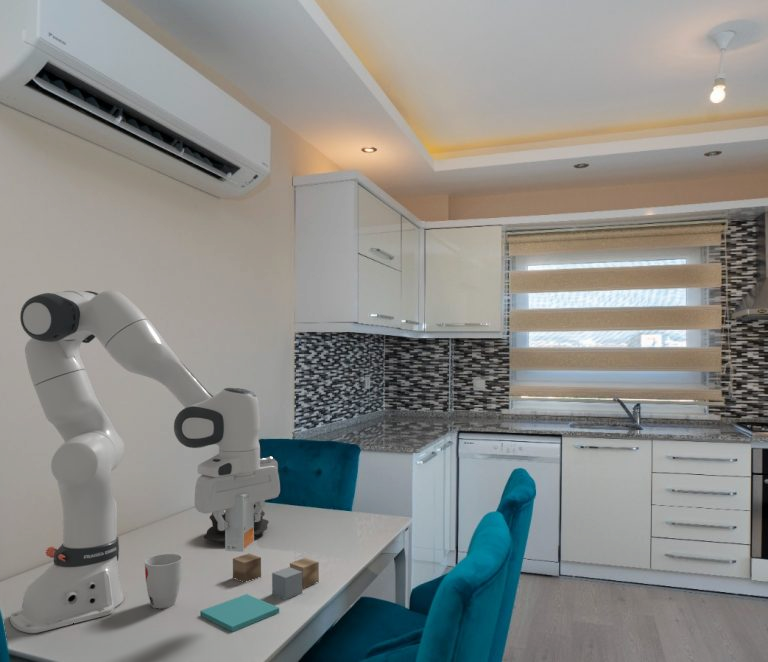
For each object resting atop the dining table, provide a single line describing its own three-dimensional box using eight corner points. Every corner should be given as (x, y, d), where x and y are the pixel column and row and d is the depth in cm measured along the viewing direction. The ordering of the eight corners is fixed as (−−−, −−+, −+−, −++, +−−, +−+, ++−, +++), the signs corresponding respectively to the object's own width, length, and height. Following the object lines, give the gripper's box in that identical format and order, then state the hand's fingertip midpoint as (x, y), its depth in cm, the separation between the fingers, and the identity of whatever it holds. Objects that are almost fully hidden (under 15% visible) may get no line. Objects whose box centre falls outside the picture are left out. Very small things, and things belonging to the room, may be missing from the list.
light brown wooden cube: (303, 588, 144) (303, 567, 144) (290, 583, 148) (289, 563, 148) (318, 582, 148) (318, 562, 148) (305, 577, 151) (305, 557, 152)
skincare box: (243, 552, 128) (242, 495, 128) (224, 551, 128) (224, 495, 129) (255, 543, 133) (254, 489, 134) (237, 542, 134) (236, 488, 135)
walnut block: (244, 583, 148) (244, 562, 149) (232, 578, 152) (232, 558, 152) (261, 577, 152) (260, 557, 152) (249, 573, 155) (249, 553, 156)
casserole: (243, 550, 174) (243, 520, 174) (188, 545, 179) (188, 516, 180) (282, 526, 198) (282, 500, 198) (232, 522, 203) (232, 497, 204)
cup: (153, 596, 140) (153, 553, 141) (187, 596, 140) (187, 553, 140) (138, 611, 132) (138, 565, 133) (174, 611, 132) (174, 565, 132)
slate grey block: (285, 599, 138) (285, 577, 138) (272, 594, 141) (272, 572, 141) (302, 593, 141) (302, 571, 142) (288, 588, 145) (288, 567, 145)
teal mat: (232, 631, 122) (232, 626, 122) (200, 615, 130) (200, 610, 130) (279, 612, 131) (279, 607, 131) (246, 598, 139) (246, 594, 139)
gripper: (268, 454, 142) (268, 513, 141) (190, 466, 126) (190, 533, 126) (285, 457, 137) (285, 518, 137) (207, 470, 122) (207, 539, 121)
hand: (239, 525), depth 131 cm, fingers closed on skincare box, 7 cm apart
